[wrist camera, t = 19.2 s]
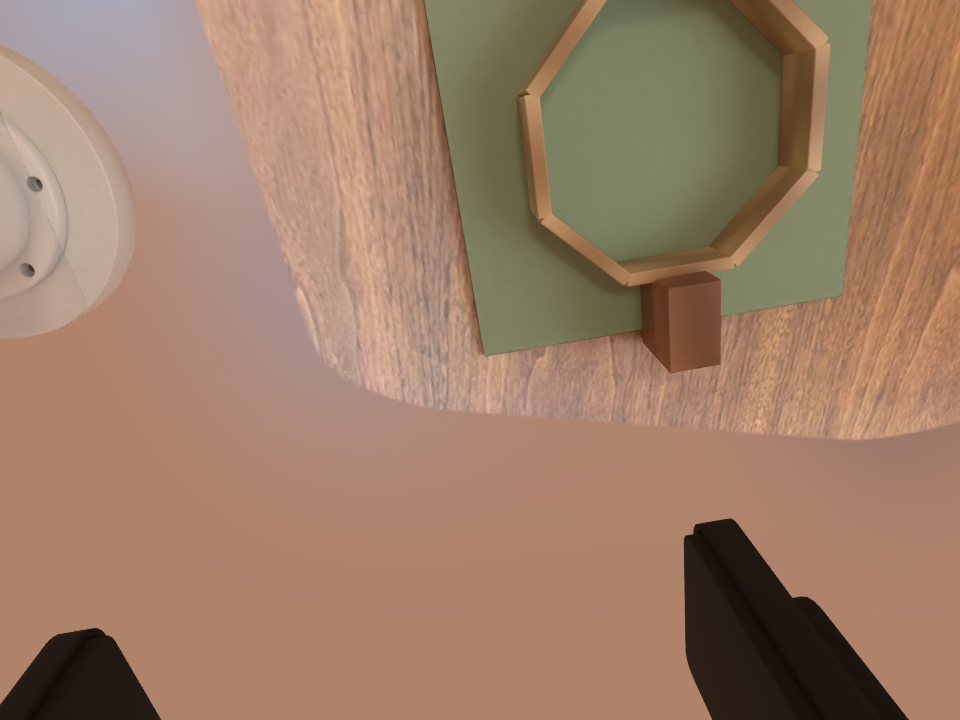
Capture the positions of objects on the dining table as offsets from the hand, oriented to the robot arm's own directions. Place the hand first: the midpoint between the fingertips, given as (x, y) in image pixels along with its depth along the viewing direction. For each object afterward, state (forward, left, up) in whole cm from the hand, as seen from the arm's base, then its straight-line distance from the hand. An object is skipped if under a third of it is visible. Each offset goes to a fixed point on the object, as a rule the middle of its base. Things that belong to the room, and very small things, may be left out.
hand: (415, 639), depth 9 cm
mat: (+14, +5, -28) cm, 32 cm away
